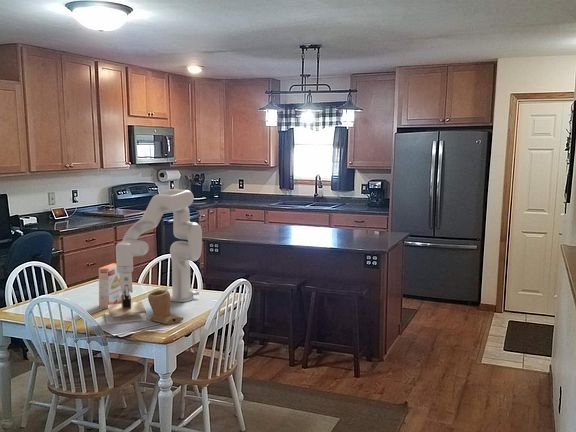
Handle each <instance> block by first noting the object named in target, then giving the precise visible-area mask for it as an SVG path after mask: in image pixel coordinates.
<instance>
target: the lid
mask: <svg viewBox="0 0 576 432" xmlns="http://www.w3.org/2000/svg"><path fill="white" fill-rule="evenodd" d="M121 299H122V303H120V304H113V305H108V309H107V310H108V312H109V314H110V317H115V316H124V315H132V314H141V313H145V314H146V313H147V310H146V308H145V306H144V303H143V301H141V300H140V301H133V302H132V296H131V295H130V307H127V308H124V307H123V299H124V297H123V295H121Z"/></svg>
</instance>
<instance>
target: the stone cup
mask: <svg viewBox="0 0 576 432" xmlns="http://www.w3.org/2000/svg"><path fill="white" fill-rule="evenodd" d="M170 296H171V293H170V291H168V289H158V290H154V291H152V292H149V293H148V296H147V300H148V303H149V305H150V308H151V310H152V312H153V315H151V316H150V318H149V319H150V320H151V321H153V322H156V323H160V324H164V325H173V324H179V323H181V322H182V321H184V317H182V316H180V315H175V314H173V313H171V302H172V301H171V299H170Z"/></svg>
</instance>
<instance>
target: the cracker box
mask: <svg viewBox="0 0 576 432" xmlns="http://www.w3.org/2000/svg"><path fill="white" fill-rule="evenodd" d="M121 295H122V291H121V287H120V275H119V273H117V266H116V263H114V262H113V263H110V264H108V265H104V266H102V267H99V268H98V308H99V309H107V310H109V309H108V305H113V304H122V299H121Z"/></svg>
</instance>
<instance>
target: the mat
mask: <svg viewBox="0 0 576 432" xmlns="http://www.w3.org/2000/svg"><path fill="white" fill-rule="evenodd" d="M104 315H105V321H106V324H107V325H113V324H121V323H123V324H124V323H129V322H130V323H131V322H142V321H148V319H147V316H146V313H141V314H132V315H124V316H115V317H110V314H109V311H108V312H104Z"/></svg>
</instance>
